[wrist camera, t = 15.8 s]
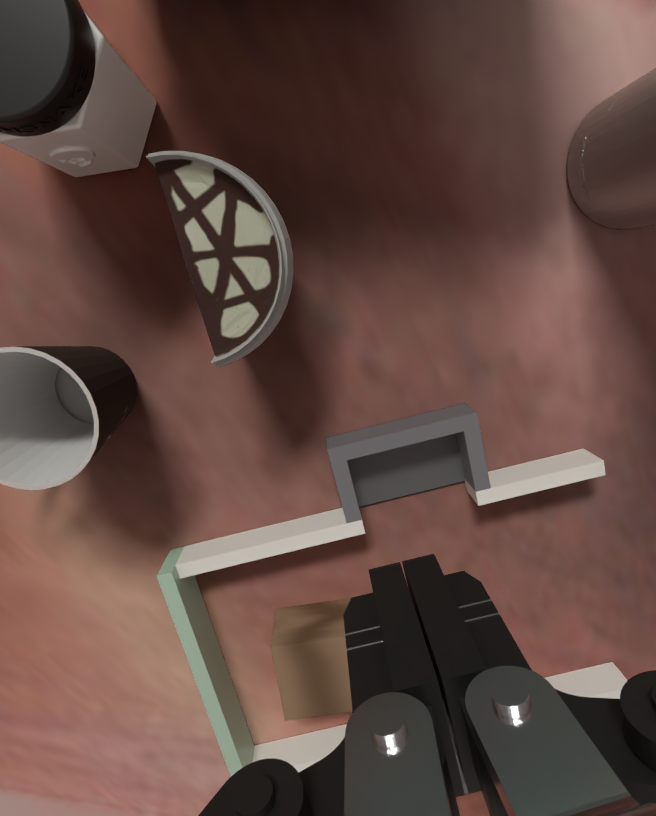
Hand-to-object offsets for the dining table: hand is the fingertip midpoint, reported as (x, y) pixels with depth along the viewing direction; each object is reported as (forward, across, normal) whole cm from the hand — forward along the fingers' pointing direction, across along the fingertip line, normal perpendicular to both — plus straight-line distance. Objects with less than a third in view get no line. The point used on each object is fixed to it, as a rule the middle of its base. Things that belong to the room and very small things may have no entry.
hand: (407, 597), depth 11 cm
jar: (+29, +12, -22) cm, 38 cm away
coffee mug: (+29, +20, -4) cm, 36 cm away
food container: (+29, +4, -10) cm, 31 cm away
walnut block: (+29, +7, +22) cm, 37 cm away
